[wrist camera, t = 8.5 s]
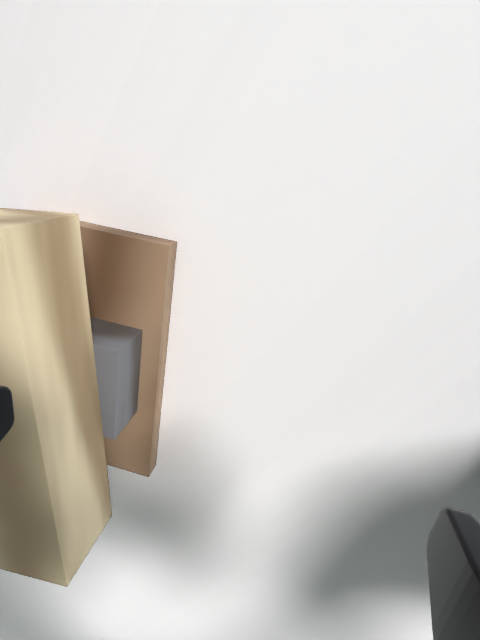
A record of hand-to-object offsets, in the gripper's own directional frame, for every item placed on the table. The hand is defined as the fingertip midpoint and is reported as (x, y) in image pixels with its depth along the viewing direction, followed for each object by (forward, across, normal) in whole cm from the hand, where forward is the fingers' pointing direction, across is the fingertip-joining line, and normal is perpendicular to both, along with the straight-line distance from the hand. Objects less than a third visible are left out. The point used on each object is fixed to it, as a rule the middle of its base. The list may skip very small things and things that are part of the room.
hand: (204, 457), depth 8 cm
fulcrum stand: (+11, +10, +5) cm, 16 cm away
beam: (+8, +9, +5) cm, 13 cm away
